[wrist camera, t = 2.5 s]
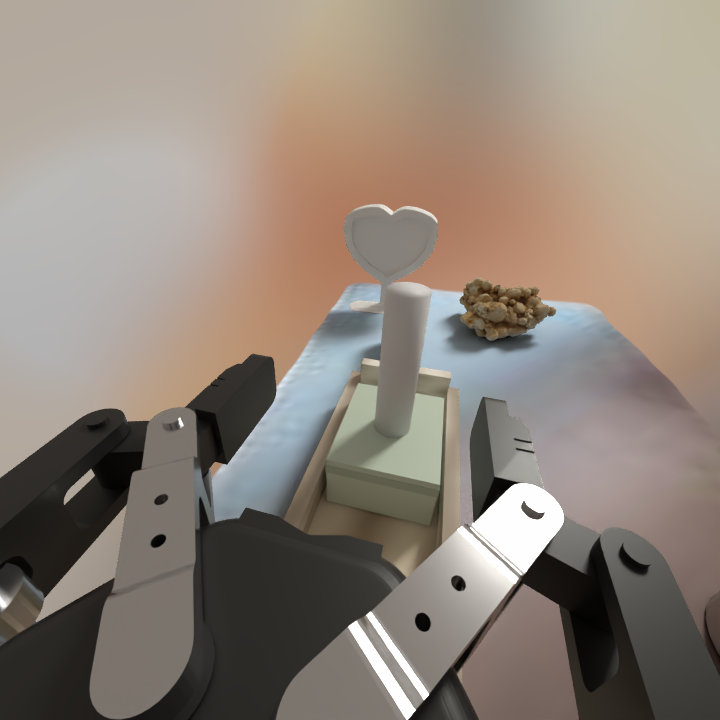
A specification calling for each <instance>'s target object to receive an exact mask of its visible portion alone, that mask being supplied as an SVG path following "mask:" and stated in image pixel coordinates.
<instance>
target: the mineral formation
mask: <svg viewBox="0 0 720 720" xmlns="http://www.w3.org/2000/svg"><path fill="white" fill-rule="evenodd" d="M463 292H464V296H462V297H461V298H460V303H461V304H462V305H464V307H465V308H466V310H467V312H466V313H465V314H464V315H461V316H460V321H461V322H463V323H464V324H465V325H466V326H468V327H469V328H471V329H472V328H474V329H475V330H476V334H477V335H478V336H479V337H486V338H487V339H488V340H489V341H493V340H495V339H497V338H504V337H506V336H508V335H509V336H512V337H513V336H518V335H521V334H523V333H526V331H527V330H529V329H533V328H535V326H536V324H537V323H540V322H541V321H543V320H544V318H545V317H547V315H548V316H553V315H555V313H556V309H555V308H554V307H549V306H548V305H545V304H543V303H542V302H541V298H539V297H537V296H536V295H537V294H538V292H539V289H538V288H536V287H530V288H528V289H526V288H523V287H515V288H513V289H510V288H508V287H506V286H505V287H504V288H501V287H500V285H497V286H495V287H492V283H491V281H488V280H486V281H485V280H484V279H482V278H476V279H475V280H474V281H473V282H468V283H467V284H466V289H464V291H463Z"/></svg>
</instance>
